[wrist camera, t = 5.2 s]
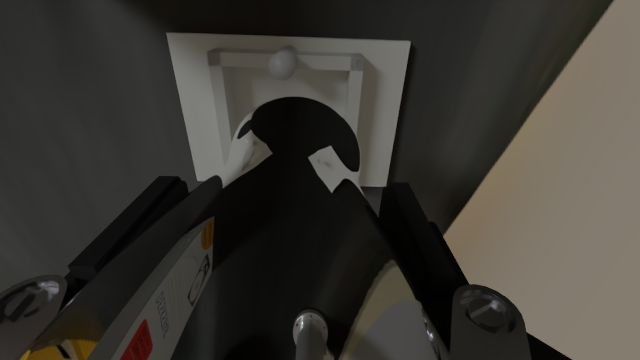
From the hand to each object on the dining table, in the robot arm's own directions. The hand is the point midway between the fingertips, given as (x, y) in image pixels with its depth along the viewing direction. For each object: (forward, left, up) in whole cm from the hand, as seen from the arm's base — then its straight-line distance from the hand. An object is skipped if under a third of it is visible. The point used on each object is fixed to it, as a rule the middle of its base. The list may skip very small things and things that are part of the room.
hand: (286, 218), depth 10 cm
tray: (+2, +3, -19) cm, 20 cm away
